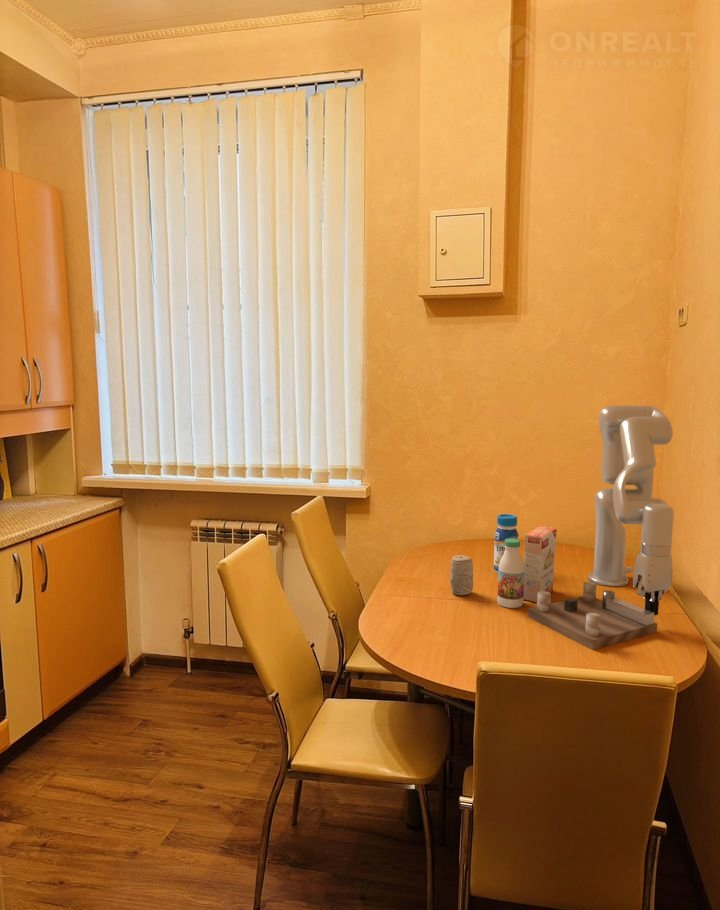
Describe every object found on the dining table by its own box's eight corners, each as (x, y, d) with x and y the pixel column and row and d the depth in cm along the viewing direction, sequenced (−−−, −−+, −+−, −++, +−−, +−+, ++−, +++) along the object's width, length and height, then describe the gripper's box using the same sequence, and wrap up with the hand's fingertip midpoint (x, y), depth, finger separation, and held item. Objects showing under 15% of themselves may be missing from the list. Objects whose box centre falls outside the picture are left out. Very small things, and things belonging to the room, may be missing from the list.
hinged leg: (599, 606, 181) (600, 591, 181) (607, 604, 183) (608, 589, 182) (645, 625, 167) (646, 609, 167) (653, 623, 169) (654, 607, 168)
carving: (445, 591, 200) (446, 555, 199) (466, 588, 203) (467, 553, 201) (455, 598, 194) (456, 561, 193) (476, 595, 197) (477, 558, 195)
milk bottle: (493, 599, 193) (496, 537, 191) (518, 599, 194) (520, 536, 191) (501, 609, 186) (504, 544, 183) (526, 608, 186) (529, 543, 184)
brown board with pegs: (588, 603, 191) (589, 579, 190) (656, 632, 170) (658, 605, 169) (527, 616, 180) (528, 591, 179) (592, 649, 159) (594, 621, 158)
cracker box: (540, 604, 190) (543, 537, 187) (521, 599, 194) (523, 534, 191) (554, 590, 202) (557, 527, 199) (536, 587, 205) (538, 524, 202)
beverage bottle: (516, 568, 224) (518, 513, 221) (518, 576, 216) (520, 519, 213) (492, 567, 225) (494, 512, 223) (493, 574, 217) (495, 518, 214)
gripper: (664, 543, 176) (659, 605, 179) (624, 548, 171) (620, 612, 173) (687, 550, 170) (682, 614, 172) (646, 556, 164) (641, 622, 166)
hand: (651, 613), depth 173 cm, fingers closed
